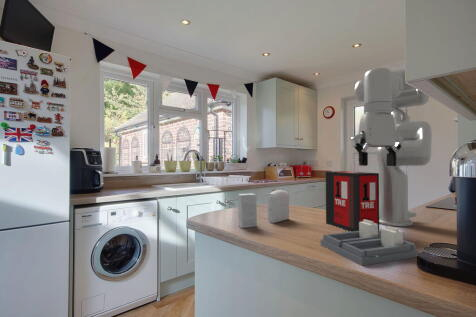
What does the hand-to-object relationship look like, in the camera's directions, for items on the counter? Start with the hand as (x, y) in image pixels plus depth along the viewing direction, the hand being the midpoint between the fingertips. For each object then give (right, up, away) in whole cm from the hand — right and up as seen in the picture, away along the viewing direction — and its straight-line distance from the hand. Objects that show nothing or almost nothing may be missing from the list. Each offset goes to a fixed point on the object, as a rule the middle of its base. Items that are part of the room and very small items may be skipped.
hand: (377, 165), depth 81 cm
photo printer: (-26, -23, +26) cm, 44 cm away
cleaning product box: (-2, -23, +15) cm, 28 cm away
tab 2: (-2, -21, -11) cm, 24 cm away
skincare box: (-39, -23, +18) cm, 49 cm away
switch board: (-8, -23, -9) cm, 26 cm away
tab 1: (-5, -21, -4) cm, 22 cm away
